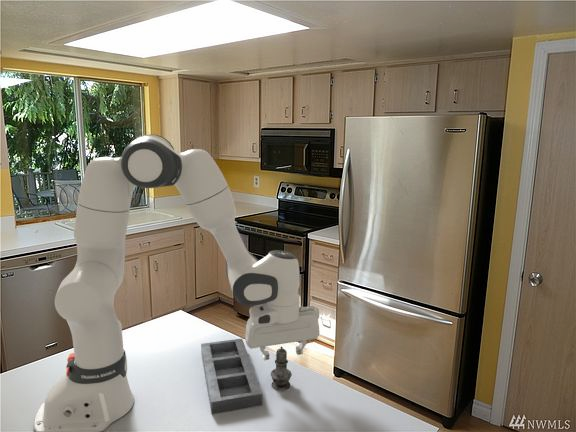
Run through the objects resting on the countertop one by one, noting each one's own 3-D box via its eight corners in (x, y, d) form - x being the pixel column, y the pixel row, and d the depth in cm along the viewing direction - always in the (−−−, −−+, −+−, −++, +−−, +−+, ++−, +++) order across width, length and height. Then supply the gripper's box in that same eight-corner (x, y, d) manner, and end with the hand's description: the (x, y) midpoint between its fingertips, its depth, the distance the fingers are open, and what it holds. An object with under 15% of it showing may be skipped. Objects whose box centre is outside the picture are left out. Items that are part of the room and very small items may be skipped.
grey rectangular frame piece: (211, 414, 105) (211, 402, 104) (201, 353, 132) (201, 343, 131) (262, 405, 109) (262, 393, 108) (242, 348, 135) (242, 338, 135)
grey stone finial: (291, 392, 114) (292, 352, 111) (269, 391, 114) (270, 351, 111) (291, 379, 120) (292, 341, 117) (271, 378, 120) (271, 340, 117)
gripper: (315, 300, 118) (314, 344, 121) (243, 309, 112) (244, 355, 115) (323, 310, 112) (322, 356, 115) (248, 319, 106) (249, 368, 109)
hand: (282, 356), depth 115 cm, fingers open, 8 cm apart
